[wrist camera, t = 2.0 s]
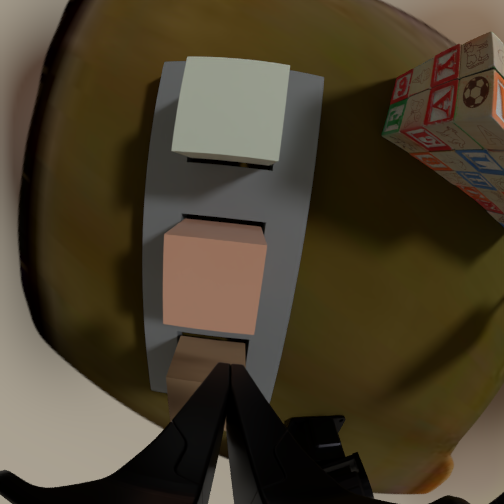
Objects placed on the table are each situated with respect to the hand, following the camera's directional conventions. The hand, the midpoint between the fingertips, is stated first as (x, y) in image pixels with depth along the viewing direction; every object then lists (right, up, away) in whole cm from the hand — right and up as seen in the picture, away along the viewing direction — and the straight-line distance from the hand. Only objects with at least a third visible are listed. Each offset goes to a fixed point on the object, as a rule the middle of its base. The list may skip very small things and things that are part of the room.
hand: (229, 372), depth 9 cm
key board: (-2, +4, +12) cm, 13 cm away
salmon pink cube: (-1, +4, +10) cm, 11 cm away
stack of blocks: (+22, +13, +11) cm, 27 cm away
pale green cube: (0, +12, +7) cm, 14 cm away
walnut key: (-3, -5, +12) cm, 13 cm away
